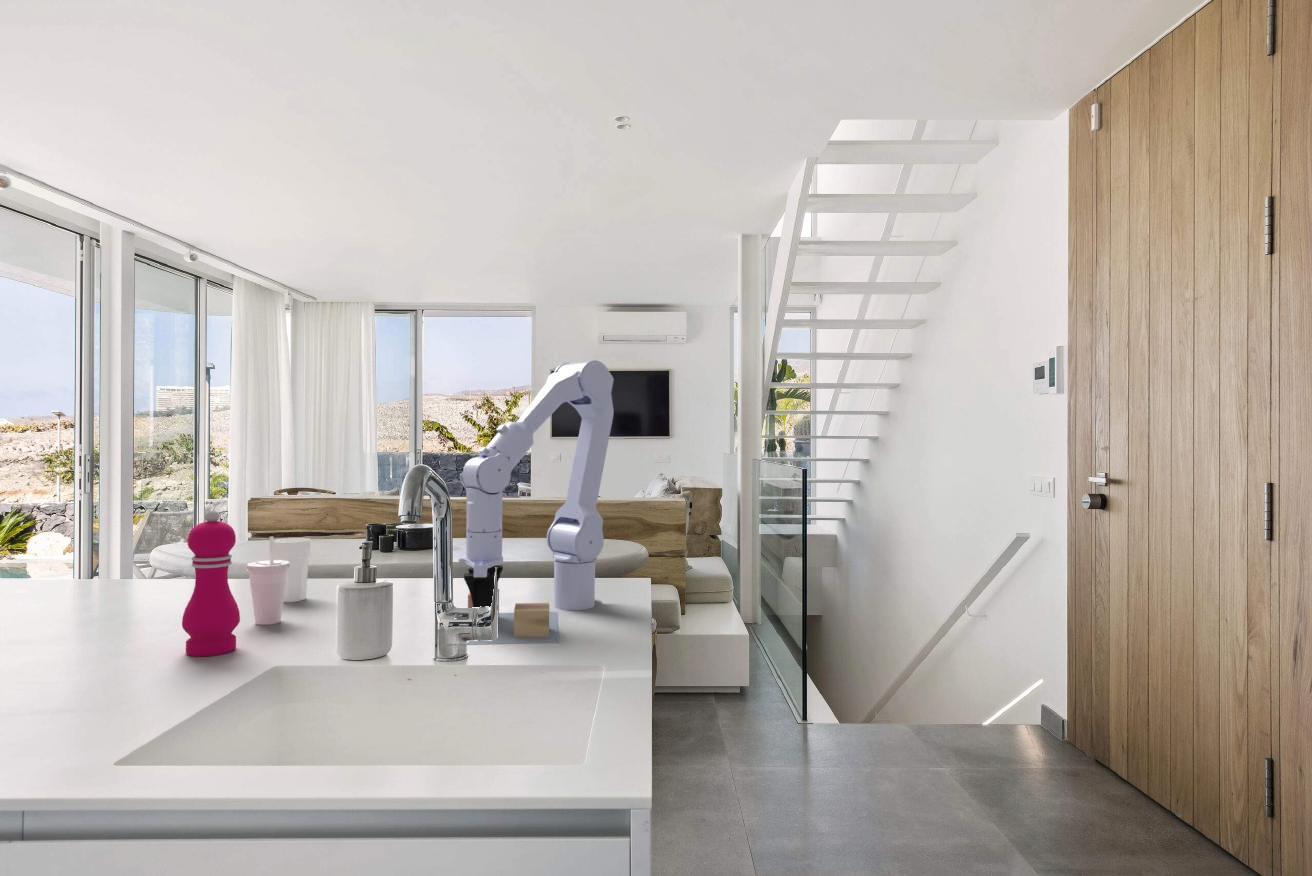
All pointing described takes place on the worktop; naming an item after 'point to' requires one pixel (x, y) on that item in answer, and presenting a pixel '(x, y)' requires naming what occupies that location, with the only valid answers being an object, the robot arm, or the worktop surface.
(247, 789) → the worktop surface
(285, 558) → the cup
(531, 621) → the oak base block
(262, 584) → the smoothie
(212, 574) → the pepper mill
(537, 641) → the board
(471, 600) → the terracotta block
